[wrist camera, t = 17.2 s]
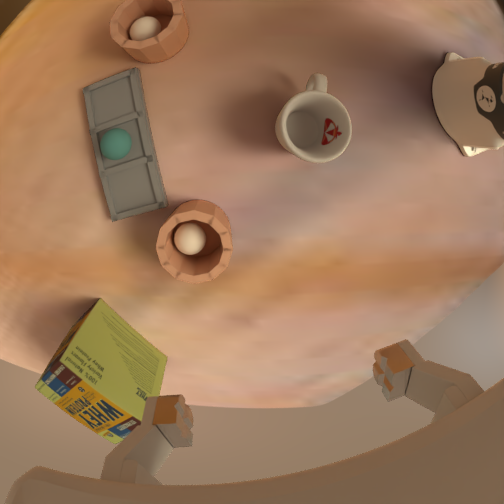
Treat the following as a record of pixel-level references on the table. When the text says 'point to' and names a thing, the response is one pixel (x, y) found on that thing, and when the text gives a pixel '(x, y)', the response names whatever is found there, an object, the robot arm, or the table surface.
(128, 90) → the tray
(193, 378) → the table surface
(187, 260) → the tube
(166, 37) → the tube
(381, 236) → the table surface
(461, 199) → the table surface
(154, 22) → the ball
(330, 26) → the table surface
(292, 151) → the cup
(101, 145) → the ball
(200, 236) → the ball
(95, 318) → the protein box
